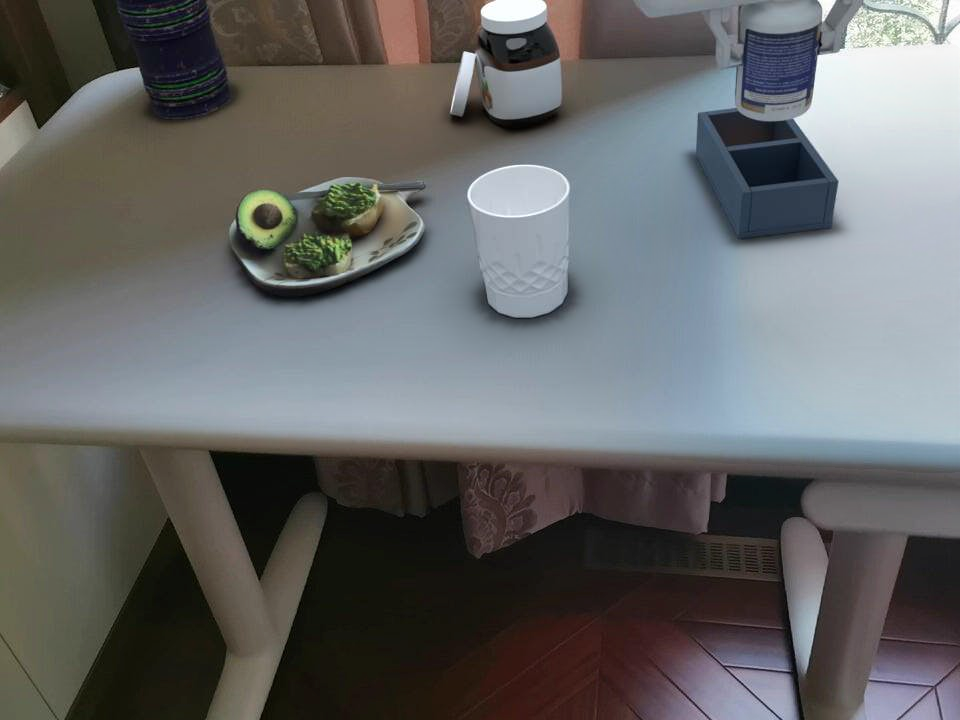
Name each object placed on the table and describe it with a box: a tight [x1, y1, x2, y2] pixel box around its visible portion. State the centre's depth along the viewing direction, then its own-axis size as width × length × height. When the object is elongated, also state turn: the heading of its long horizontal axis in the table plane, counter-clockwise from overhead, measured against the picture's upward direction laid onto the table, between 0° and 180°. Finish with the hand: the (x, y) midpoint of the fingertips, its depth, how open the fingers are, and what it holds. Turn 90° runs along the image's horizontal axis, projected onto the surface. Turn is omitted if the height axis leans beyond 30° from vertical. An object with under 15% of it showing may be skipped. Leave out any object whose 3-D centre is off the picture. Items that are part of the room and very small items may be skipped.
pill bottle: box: [734, 0, 824, 121], centre depth 66 cm, size 5×5×10 cm
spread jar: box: [450, 0, 563, 128], centre depth 102 cm, size 12×11×12 cm
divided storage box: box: [695, 107, 840, 240], centre depth 87 cm, size 8×15×5 cm, turn 4°
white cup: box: [466, 164, 571, 318], centre depth 77 cm, size 8×8×10 cm
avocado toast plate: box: [228, 176, 426, 298], centre depth 89 cm, size 19×18×5 cm
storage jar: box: [115, 0, 233, 120], centre depth 111 cm, size 10×10×18 cm
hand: (776, 58), depth 67 cm, fingers closed on pill bottle, 5 cm apart
